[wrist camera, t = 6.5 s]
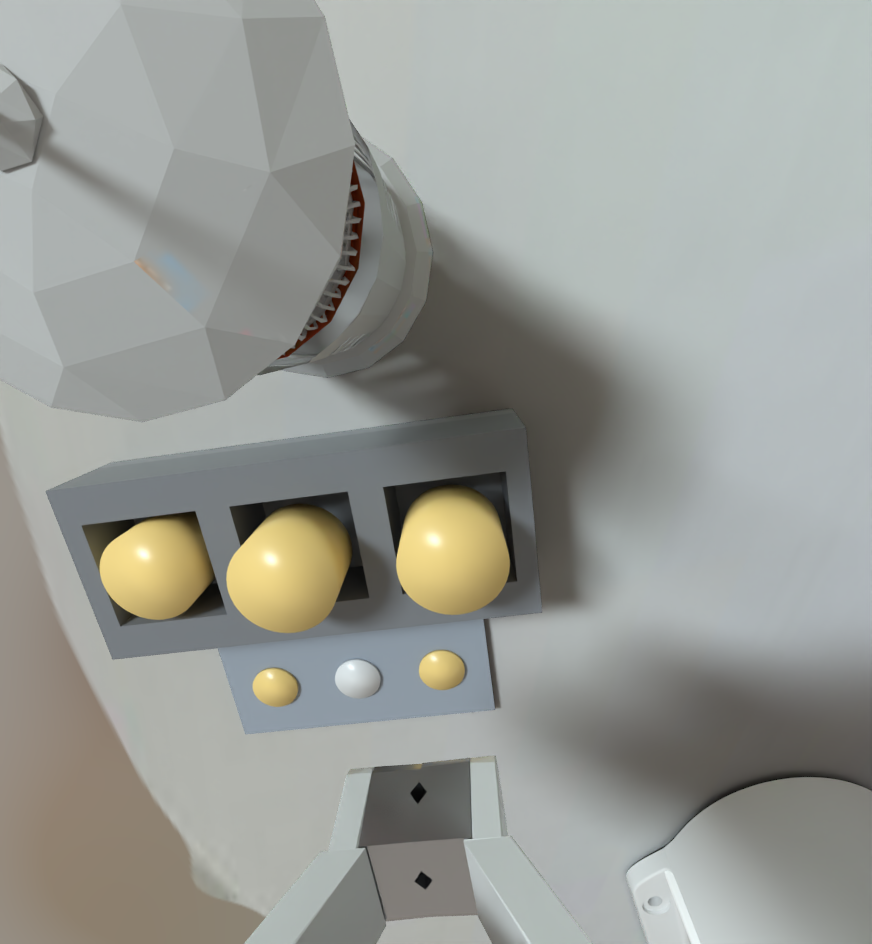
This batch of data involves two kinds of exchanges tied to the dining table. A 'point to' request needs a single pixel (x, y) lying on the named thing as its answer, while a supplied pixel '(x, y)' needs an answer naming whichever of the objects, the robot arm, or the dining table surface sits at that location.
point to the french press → (190, 206)
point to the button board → (366, 582)
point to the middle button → (290, 569)
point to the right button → (452, 551)
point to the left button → (158, 566)
